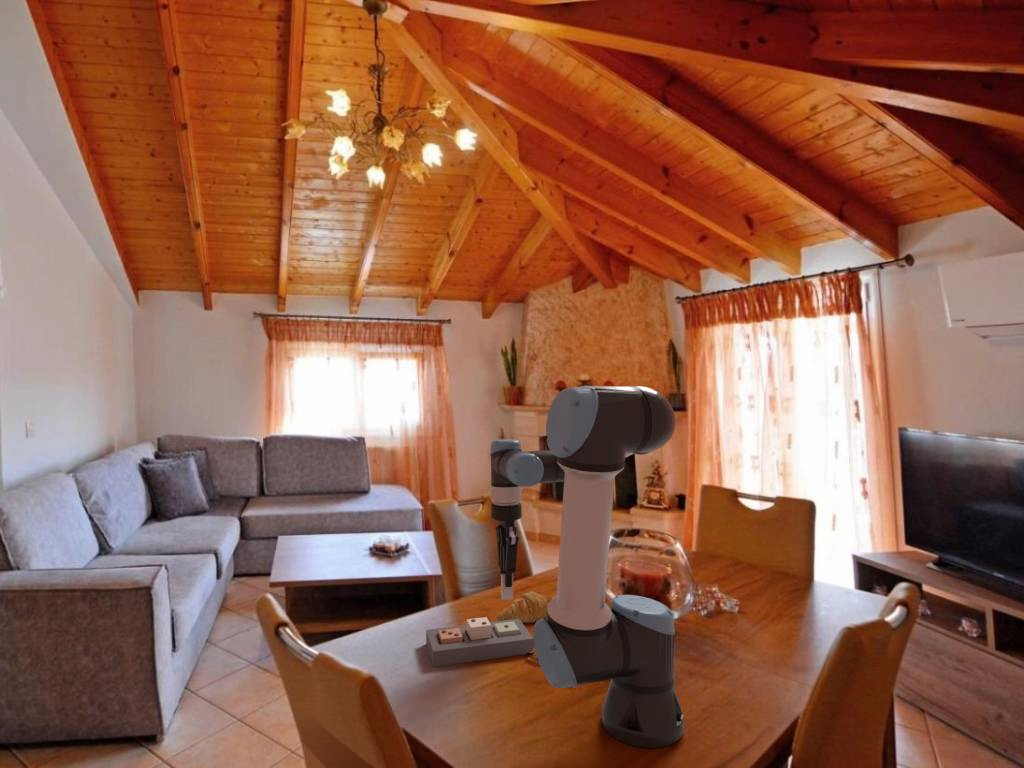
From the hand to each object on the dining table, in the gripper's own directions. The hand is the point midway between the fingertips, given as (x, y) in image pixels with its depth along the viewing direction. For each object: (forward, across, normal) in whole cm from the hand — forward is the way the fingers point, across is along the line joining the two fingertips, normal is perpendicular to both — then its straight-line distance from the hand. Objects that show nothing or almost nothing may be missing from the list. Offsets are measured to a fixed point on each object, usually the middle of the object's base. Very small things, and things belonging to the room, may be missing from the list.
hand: (507, 598), depth 143 cm
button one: (+10, +1, 0) cm, 10 cm away
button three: (+10, +1, +14) cm, 17 cm away
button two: (+8, +1, +7) cm, 11 cm away
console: (+12, +1, +7) cm, 14 cm away
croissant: (+12, +16, -11) cm, 23 cm away
